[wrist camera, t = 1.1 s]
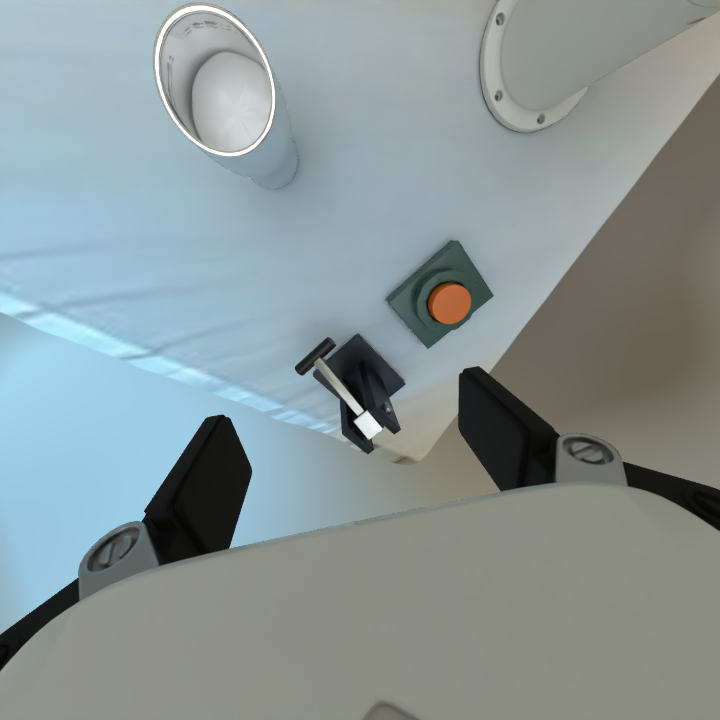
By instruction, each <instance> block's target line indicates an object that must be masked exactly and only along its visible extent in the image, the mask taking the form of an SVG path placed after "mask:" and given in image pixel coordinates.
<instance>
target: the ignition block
mask: <svg viewBox="0 0 720 720" xmlns="http://www.w3.org/2000/svg"><path fill="white" fill-rule="evenodd" d="M444 283H455V284H458V285H460V286H463V287H464V288H466V289H467V290H468V292H469V294H470V297H471V306H470V309H469V311H468V313H467V314H466V316H465V317H464V318H463V319H462V320H460V321H458V322H456V323H453V324H443V323H441V322H439V321H438V320H437V319H435V318H434V317H433V316H432V315H431V314H430V312H429V309H428V300H429V297H430V295H431V293H432V292H433V290H434V289H435V288H436V287H438V286H439V285H441V284H444ZM492 297H493V294H492V293H491V291H490V289H489V288H488V286H487V285H486V283H485V282H484V280H483V279H482V277H481V275H480V274H479V272H478V271H477V269H476V268H475V266H474V264H473V263H472V261H471V260H470V258H469V257H468V255H467V254H466V252H465V250H464V249H463V247H462V246H461V244H460V243H459V241H450V242H449V243H448V244H447V245H446V246H445V247H443V248H442V249H441V250H440V251H439V252H438V253H437V254H436V255H434V256H433V257H432V258H431V259H430V260H429V261H428V262H427V263H426V264H424V265H423V266H422V267H421V268H420V269H419V270H418V271H417V272H416V273H414V274H413V275H412V276H411V277H410V278H409V279H408V280H407V281H405V282H404V283H403V284H402V285H401V286H400V287H399V288H398V289H397V290H395V291H394V292H393V293H392V294H391V295H390V296H389V297H388V298H386V301H387V302H388V303H389V304H390V305H391V306H392V308H393V309H394V310H395V311H396V312H397V313H398V315H399V316H400V317H401V318H402V319H403V320H404V322H405V323H406V324H407V325H408V326H409V327H410V329H411V330H412V331H413V332H414V333H415V335H416V336H417V337H418V338H419V339H420V340H421V342H422V343H423V344H424V345H425V346H426V347H427V349H429V348H430V347H431V346H432V345H434V344H435V343H436V342H437V341H439V340H440V339H441V338H442V337H443V336H445V335H446V334H447V333H448V332H450V331H451V330H455V329H458V328H459V327H460V326H461V325H463V324H464V323H465V322H466V321H467V320H469V318H470V317H471V315H472V313H473V312H474V311H476V310H477V309H478V308H479V307H481V306H482V305H483V304H484V303H486V302H487V301H488V300H489V299H490V298H492Z"/></svg>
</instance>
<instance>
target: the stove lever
mask: <svg viewBox="0 0 720 720" xmlns="http://www.w3.org/2000/svg"><path fill="white" fill-rule="evenodd" d="M334 347H336V344H335V343H334V341H333V340H332V339H331V338H329V337H327V338H326V339H325V340H324V341H323V342H321V343H320V344H319V345H318V346H317V347H316V348H315V349H314V350H313V351H312V352H310V353H309V354H308V355H307V356H306V357H305V358H304V359H303V360H302V361H301V362H300V363H298V364H297V365H296V366H295V370H296V372H297V373H298V374H300V375H304V374H305V373H306V372H308V371H309V370H310V369H311V368H312V367H313V366H314V365H315V366H316V367H317V368H318V369H319V371H320V372H321V373H322V374H323V375H324V377H325V378H326V379H327V380H328V381H329V383H330V384H331V385H332V386H333V387H334V389H335V390H336V391H337V392H338V393H339V395H340V396H341V397H342V398H343V399H344V401H345V402H346V403H347V404H348V405H349V407H350V408H351V409H352V410H353V411H354V413H355V414H356V415H357V416H356V418H355V419H354V421H353V422H354V423H355V424H356V426H357V427H358V428H359V429H360V430H361V432H362V433H363V434H364V435H365V436H366V438H367V439H368V440H370V439H371V438H372V437H374V436H375V435H376V434H378V433H379V432H380V431H382V430H383V428H384V425H383V424H382V423H381V422H380V421H378V420H377V419H376V418H375V417H374V416H373V415H372V414H370V413H369V409H368V407H366V408H365V407H364V406H363V405H362V403H361V402H360V401H359V400H358V399H357V397H356V396H355V395H354V394H353V393H352V391H351V390H350V389H349V388H348V387H347V385H346V384H345V383H344V382H343V381H342V379H341V378H340V377H339V376H338V375H337V374H336V372H335V371H334V370H333V369H332V368H331V366H330V365H329V364H328V363H327V362H326V360H325V359H324V358H323V357H324V356H326V355H327V354H328V353H329V352H330V351H331V350H332V349H333V348H334Z"/></svg>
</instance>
